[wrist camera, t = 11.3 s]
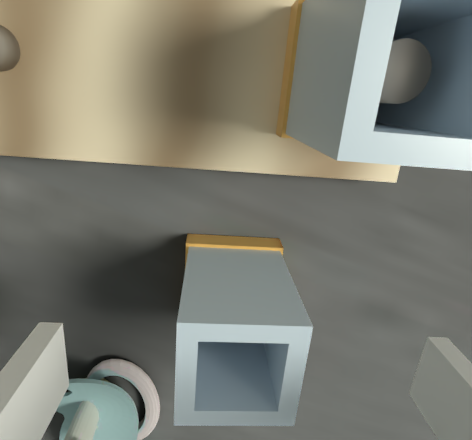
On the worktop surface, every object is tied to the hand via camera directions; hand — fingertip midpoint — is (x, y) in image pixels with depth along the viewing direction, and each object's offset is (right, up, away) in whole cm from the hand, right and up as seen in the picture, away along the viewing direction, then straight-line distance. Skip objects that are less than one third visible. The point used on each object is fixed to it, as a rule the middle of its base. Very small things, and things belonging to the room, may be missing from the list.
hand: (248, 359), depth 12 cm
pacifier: (-8, -6, +9) cm, 13 cm away
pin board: (-3, +12, +2) cm, 12 cm away
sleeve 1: (-1, +2, +6) cm, 6 cm away
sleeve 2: (+4, +11, +1) cm, 12 cm away
